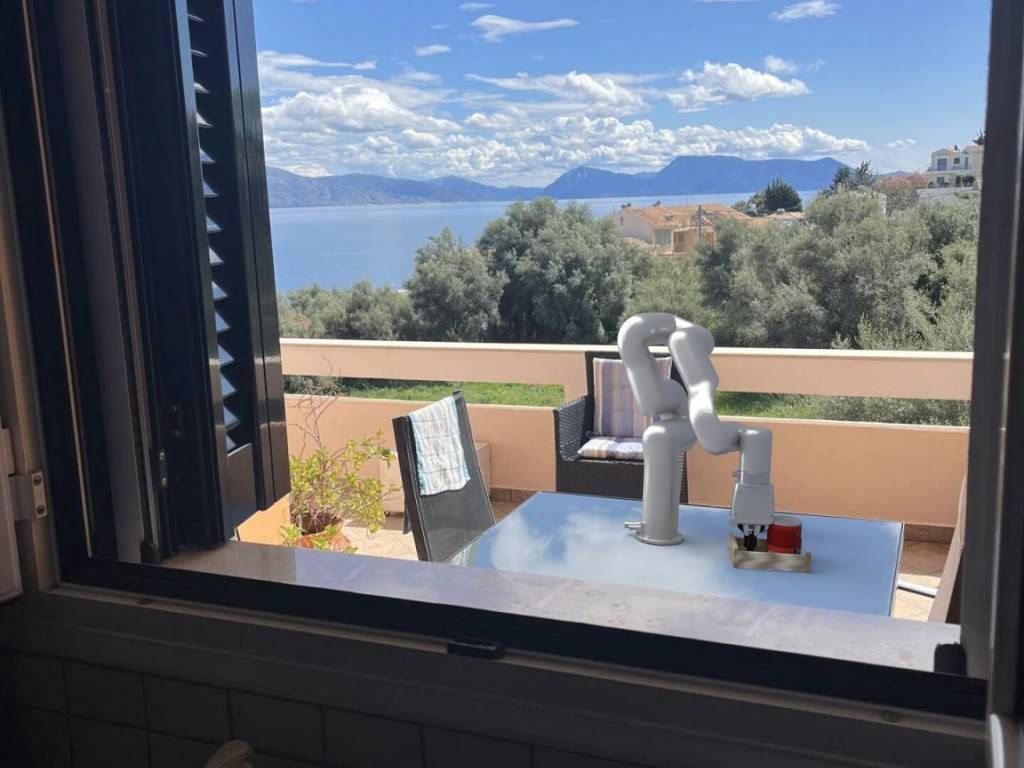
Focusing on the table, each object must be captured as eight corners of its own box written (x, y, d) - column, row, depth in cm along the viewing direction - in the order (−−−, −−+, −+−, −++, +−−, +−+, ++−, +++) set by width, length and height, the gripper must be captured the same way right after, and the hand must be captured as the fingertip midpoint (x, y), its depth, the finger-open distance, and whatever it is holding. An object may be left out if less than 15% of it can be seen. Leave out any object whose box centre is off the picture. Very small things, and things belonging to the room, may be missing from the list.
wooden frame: (733, 567, 214) (734, 547, 213) (727, 550, 227) (728, 531, 226) (810, 573, 211) (811, 552, 211) (799, 555, 224) (801, 536, 224)
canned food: (800, 569, 214) (804, 524, 213) (766, 566, 216) (769, 522, 214) (797, 559, 222) (800, 516, 220) (764, 556, 223) (766, 513, 222)
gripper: (724, 479, 214) (720, 552, 217) (788, 482, 212) (783, 557, 215) (721, 472, 222) (717, 543, 224) (783, 475, 220) (778, 547, 222)
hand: (749, 550), depth 219 cm, fingers closed
